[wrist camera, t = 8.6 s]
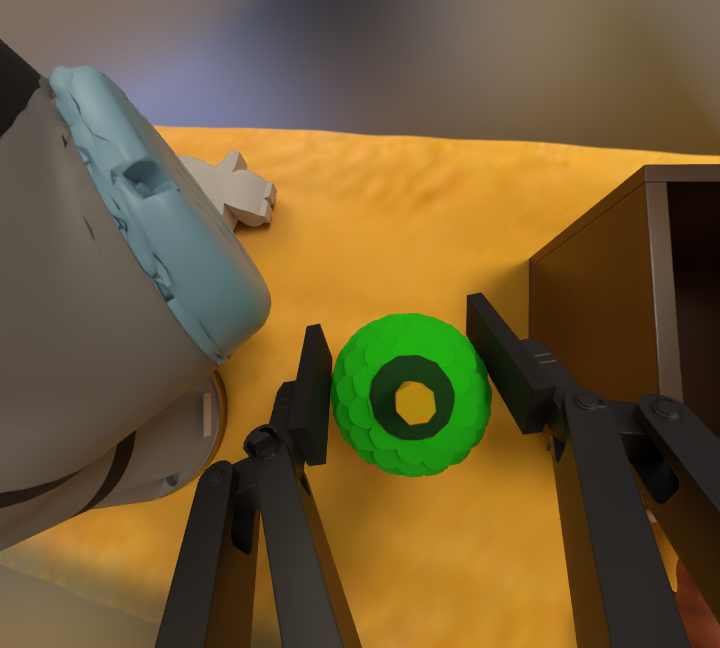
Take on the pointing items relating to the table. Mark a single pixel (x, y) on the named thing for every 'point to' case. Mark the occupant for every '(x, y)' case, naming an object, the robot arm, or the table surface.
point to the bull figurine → (693, 609)
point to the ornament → (410, 394)
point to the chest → (638, 291)
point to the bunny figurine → (234, 189)
